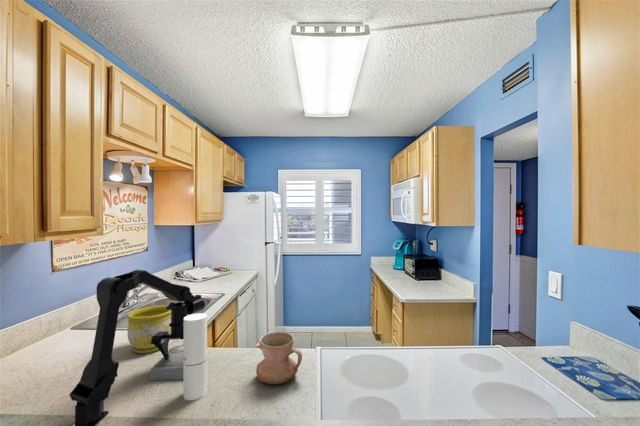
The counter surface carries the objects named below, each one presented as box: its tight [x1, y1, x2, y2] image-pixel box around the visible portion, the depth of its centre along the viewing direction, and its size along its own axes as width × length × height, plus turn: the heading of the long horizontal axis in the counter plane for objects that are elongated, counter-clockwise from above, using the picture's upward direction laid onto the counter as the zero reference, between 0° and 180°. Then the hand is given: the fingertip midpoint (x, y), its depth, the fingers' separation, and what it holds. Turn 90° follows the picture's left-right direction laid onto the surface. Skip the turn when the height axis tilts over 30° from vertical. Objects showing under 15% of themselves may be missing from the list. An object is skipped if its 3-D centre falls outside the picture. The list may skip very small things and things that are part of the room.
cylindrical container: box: [182, 312, 208, 401], centre depth 91 cm, size 7×7×25 cm
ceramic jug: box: [254, 331, 303, 385], centre depth 100 cm, size 18×14×14 cm
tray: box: [149, 351, 183, 381], centre depth 106 cm, size 14×14×4 cm
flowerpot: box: [126, 305, 171, 354], centre depth 126 cm, size 18×18×16 cm
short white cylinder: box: [168, 344, 184, 367], centre depth 106 cm, size 7×7×7 cm
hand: (179, 359), depth 106 cm, fingers open, 9 cm apart
